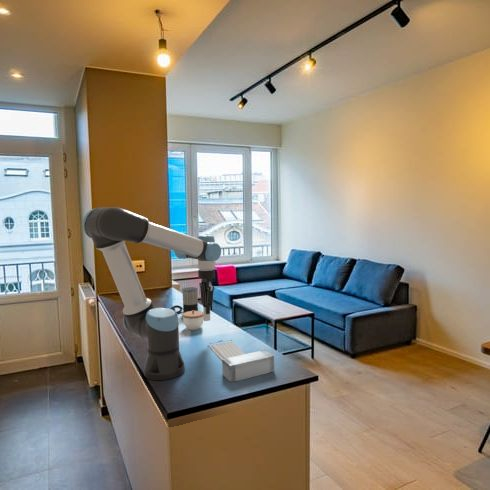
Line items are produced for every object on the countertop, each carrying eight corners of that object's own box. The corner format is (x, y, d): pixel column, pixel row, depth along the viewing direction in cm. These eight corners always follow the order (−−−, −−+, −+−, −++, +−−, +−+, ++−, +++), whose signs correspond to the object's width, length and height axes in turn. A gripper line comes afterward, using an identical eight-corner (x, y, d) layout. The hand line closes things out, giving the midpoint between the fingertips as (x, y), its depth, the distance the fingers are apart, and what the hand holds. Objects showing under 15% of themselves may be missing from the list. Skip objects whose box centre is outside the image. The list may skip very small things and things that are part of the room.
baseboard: (230, 377, 142) (260, 371, 146) (230, 369, 141) (260, 363, 146) (206, 349, 170) (232, 344, 175) (206, 342, 170) (231, 338, 174)
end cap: (230, 382, 136) (230, 365, 135) (222, 374, 142) (222, 359, 141) (274, 371, 144) (274, 355, 143) (264, 364, 150) (264, 349, 150)
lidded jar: (208, 327, 198) (207, 310, 197) (191, 332, 191) (190, 314, 190) (195, 323, 206) (195, 306, 205) (179, 328, 198) (178, 310, 197)
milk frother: (200, 314, 223) (199, 289, 222) (173, 318, 218) (172, 292, 216) (194, 308, 237) (193, 285, 235) (168, 311, 231) (167, 287, 229)
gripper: (219, 270, 171) (220, 322, 172) (208, 267, 182) (209, 316, 184) (203, 271, 167) (204, 325, 169) (193, 268, 179) (194, 318, 181)
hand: (206, 320), depth 176 cm, fingers closed
